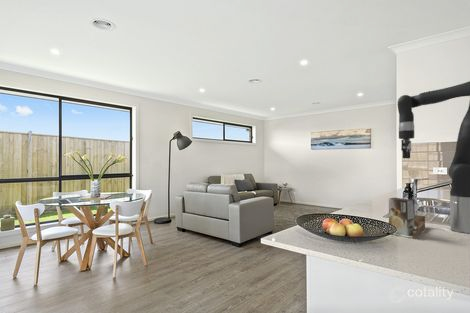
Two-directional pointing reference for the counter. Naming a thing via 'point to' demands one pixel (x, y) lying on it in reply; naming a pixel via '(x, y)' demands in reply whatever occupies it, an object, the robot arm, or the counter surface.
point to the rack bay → (420, 227)
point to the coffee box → (402, 215)
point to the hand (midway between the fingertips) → (406, 158)
